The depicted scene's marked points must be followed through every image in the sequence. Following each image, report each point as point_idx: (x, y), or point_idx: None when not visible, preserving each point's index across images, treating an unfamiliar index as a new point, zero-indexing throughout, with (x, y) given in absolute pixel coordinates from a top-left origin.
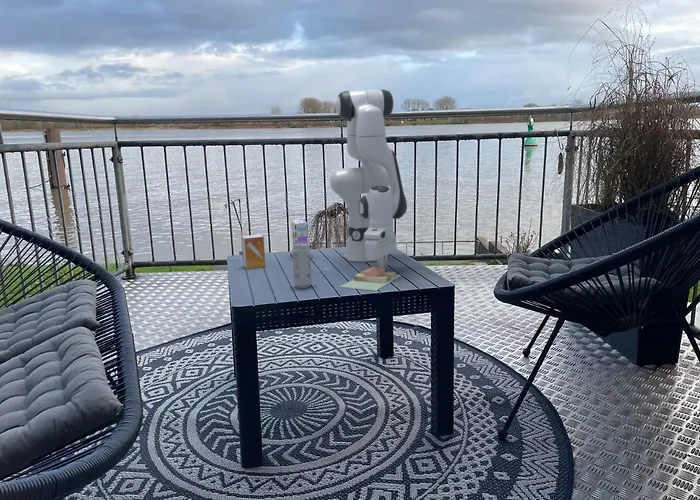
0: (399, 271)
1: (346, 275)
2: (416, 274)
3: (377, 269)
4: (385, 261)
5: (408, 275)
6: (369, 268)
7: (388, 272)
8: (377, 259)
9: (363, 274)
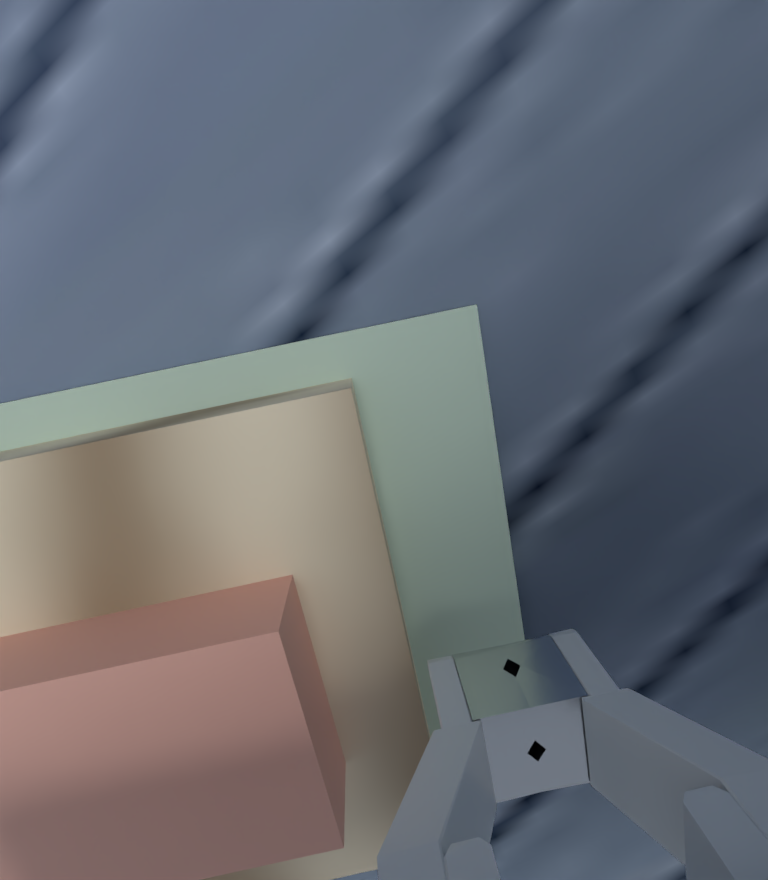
0: (742, 642)
1: (126, 53)
2: (671, 858)
3: (166, 831)
4: (608, 799)
5: (595, 823)
6: (134, 671)
7: (389, 793)
8: (380, 874)
9: (35, 575)
